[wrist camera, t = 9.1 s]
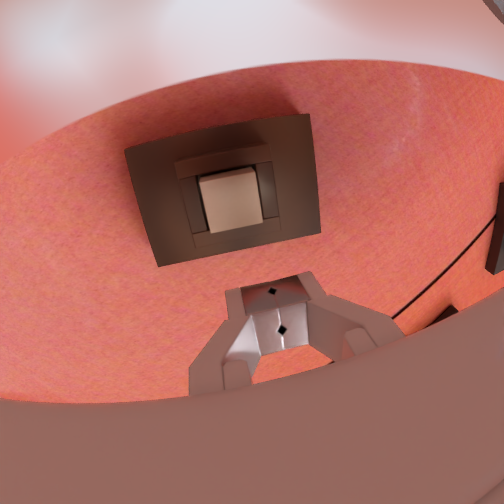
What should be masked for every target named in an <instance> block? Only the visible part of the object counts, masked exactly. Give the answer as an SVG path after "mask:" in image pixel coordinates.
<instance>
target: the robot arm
mask: <svg viewBox="0 0 504 504" xmlns="http://www.w3.org/2000/svg"><path fill="white" fill-rule="evenodd" d="M240 290H241V291H240ZM241 294H242V295H241ZM225 297H226V304H227V311H228V318H229V320H225V321H224V322H223V323H222V325H221V326H220V327H219V329H218V330H217V331H216V332H215V334H214V335H213V336H212V338H211V339H210V340H209V342H208V343H207V344H206V346H205V347H204V348H203V350H202V351H201V352H200V354H199V355H198V356H197V358H196V359H195V360H194V362H193V363H192V364H191V365H190V367H189V396H184V397H176V398H167V399H158V400H147V401H135V402H119V403H47V402H32V401H20V400H11V399H3V398H0V504H504V287H503V288H501V289H499V290H498V291H496V292H494V293H493V294H491V295H489V296H487V297H486V298H484V299H482V300H480V301H478V302H477V303H475V304H473V305H471V306H469V307H467V308H465V309H464V310H462V311H460V312H458V313H456V314H454V315H452V316H450V317H448V318H446V319H444V320H442V321H440V322H437V323H435V324H433V325H431V326H429V327H427V328H424V329H422V330H420V331H418V332H415V333H413V334H411V335H408V336H405V335H404V333H403V332H402V331H401V330H400V328H399V327H398V326H397V325H396V323H395V322H394V321H393V320H392V319H391V317H390V316H388V315H385V314H382V313H380V312H377V311H374V310H371V309H369V308H366V307H363V306H360V305H358V304H355V303H352V302H350V301H347V300H344V299H341V298H339V297H336V296H333V295H328V296H327V295H326V293H325V292H324V290H323V289H322V287H321V286H320V284H319V283H318V281H317V280H316V278H315V277H314V275H313V274H312V272H310V271H308V272H304V273H301V274H297V275H294V276H290V277H286V278H283V279H279V280H275V281H271V282H264V283H260V284H255V285H250V286H245V287H240V288H235V289H231V290H226V291H225ZM243 303H244V304H243ZM306 344H309V345H311V346H312V347H314V348H315V349H317V350H318V351H320V352H321V353H323V354H324V355H326V356H327V357H329V358H330V359H332V360H333V361H335V363H332V364H329V365H325V366H322V367H319V368H315V369H312V370H308V371H305V372H301V373H298V374H294V375H290V376H286V377H282V378H278V379H274V380H270V381H266V382H262V383H257V384H253V381H252V376H253V374H254V372H255V369H256V367H257V365H258V362H259V360H260V358H261V357H260V356H263V355H267V354H270V353H274V352H278V351H281V350H285V349H290V348H294V347H298V346H302V345H306Z"/></svg>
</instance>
